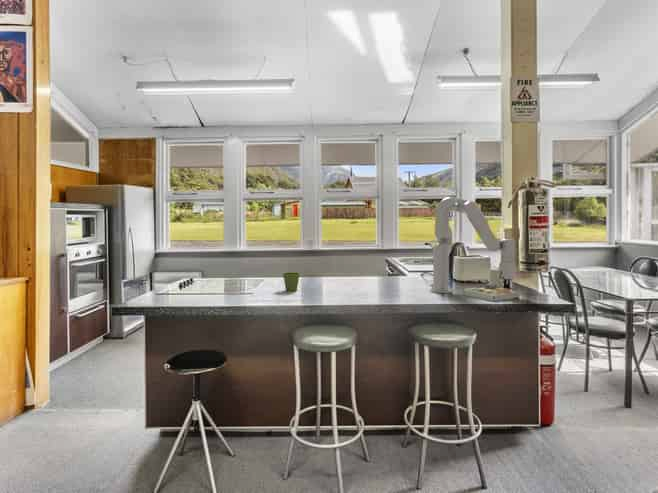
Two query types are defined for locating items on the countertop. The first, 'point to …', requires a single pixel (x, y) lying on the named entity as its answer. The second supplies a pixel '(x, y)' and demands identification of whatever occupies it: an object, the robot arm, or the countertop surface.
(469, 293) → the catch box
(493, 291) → the birch plate
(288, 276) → the plant pot
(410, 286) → the countertop surface
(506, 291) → the terracotta tile
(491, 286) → the charcoal tile
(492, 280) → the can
